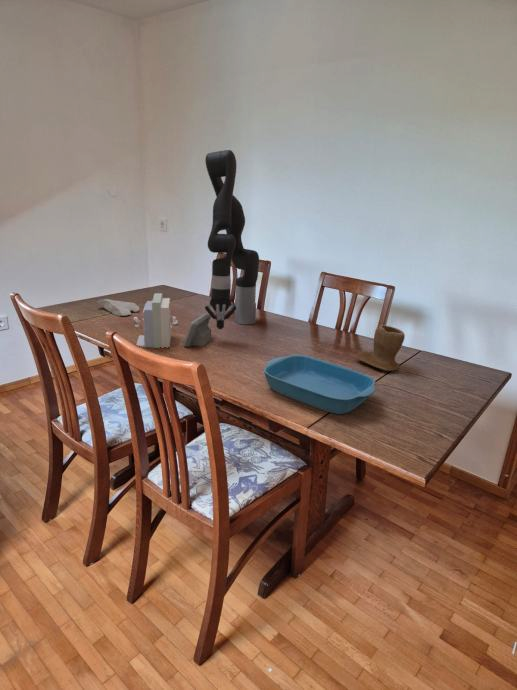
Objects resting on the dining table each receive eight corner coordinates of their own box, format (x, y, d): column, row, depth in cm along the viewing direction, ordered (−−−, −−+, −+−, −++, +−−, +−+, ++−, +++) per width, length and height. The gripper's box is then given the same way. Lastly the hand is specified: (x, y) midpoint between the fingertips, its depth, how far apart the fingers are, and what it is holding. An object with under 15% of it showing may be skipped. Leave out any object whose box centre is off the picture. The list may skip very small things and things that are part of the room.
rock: (122, 304, 229) (95, 306, 218) (123, 295, 227) (95, 297, 216) (146, 316, 216) (118, 319, 205) (147, 307, 215) (119, 310, 204)
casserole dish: (249, 387, 145) (250, 366, 142) (289, 367, 161) (291, 349, 158) (351, 428, 123) (354, 405, 121) (386, 401, 139) (389, 380, 137)
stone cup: (406, 368, 164) (413, 329, 158) (386, 375, 157) (392, 335, 152) (373, 355, 175) (378, 318, 170) (353, 361, 168) (357, 323, 163)
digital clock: (201, 334, 190) (200, 310, 186) (218, 338, 186) (219, 314, 182) (176, 345, 176) (176, 320, 172) (195, 350, 172) (195, 324, 168)
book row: (171, 335, 187) (169, 293, 180) (169, 347, 174) (168, 302, 167) (139, 335, 185) (137, 293, 178) (135, 348, 172) (133, 302, 165)
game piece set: (124, 328, 194) (124, 319, 193) (149, 315, 212) (149, 308, 211) (164, 334, 189) (163, 325, 187) (186, 321, 207) (186, 313, 205)
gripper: (237, 284, 179) (235, 325, 185) (203, 283, 177) (203, 325, 183) (238, 288, 172) (237, 331, 178) (204, 288, 170) (203, 331, 176)
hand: (220, 328), depth 180 cm, fingers closed
